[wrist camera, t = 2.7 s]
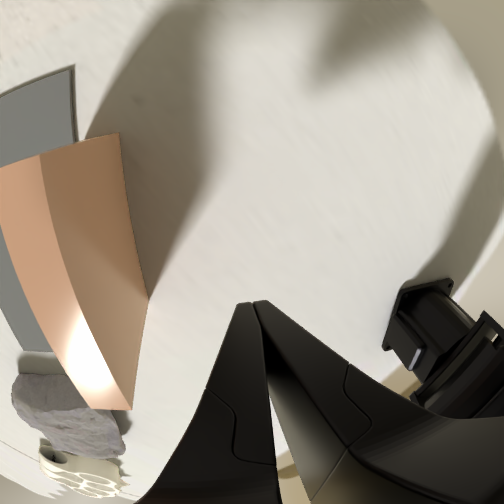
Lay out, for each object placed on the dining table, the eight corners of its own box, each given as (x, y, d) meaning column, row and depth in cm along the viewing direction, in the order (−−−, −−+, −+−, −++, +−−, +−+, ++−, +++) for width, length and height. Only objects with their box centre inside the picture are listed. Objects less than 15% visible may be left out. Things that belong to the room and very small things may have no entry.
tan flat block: (119, 132, 12) (39, 155, 5) (148, 300, 17) (132, 410, 10) (81, 140, 12) (-15, 173, 5) (117, 302, 17) (88, 408, 10)
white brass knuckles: (40, 432, 23) (141, 466, 29) (41, 463, 29) (115, 488, 34) (36, 452, 20) (140, 486, 26) (39, 478, 26) (115, 503, 31)
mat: (71, 70, 10) (69, 69, 10) (129, 349, 18) (128, 352, 18) (-45, 124, 9) (-48, 124, 8) (24, 348, 17) (23, 350, 17)
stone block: (94, 358, 21) (8, 368, 18) (94, 402, 17) (0, 408, 14) (134, 423, 26) (62, 430, 23) (141, 458, 23) (63, 464, 19)
